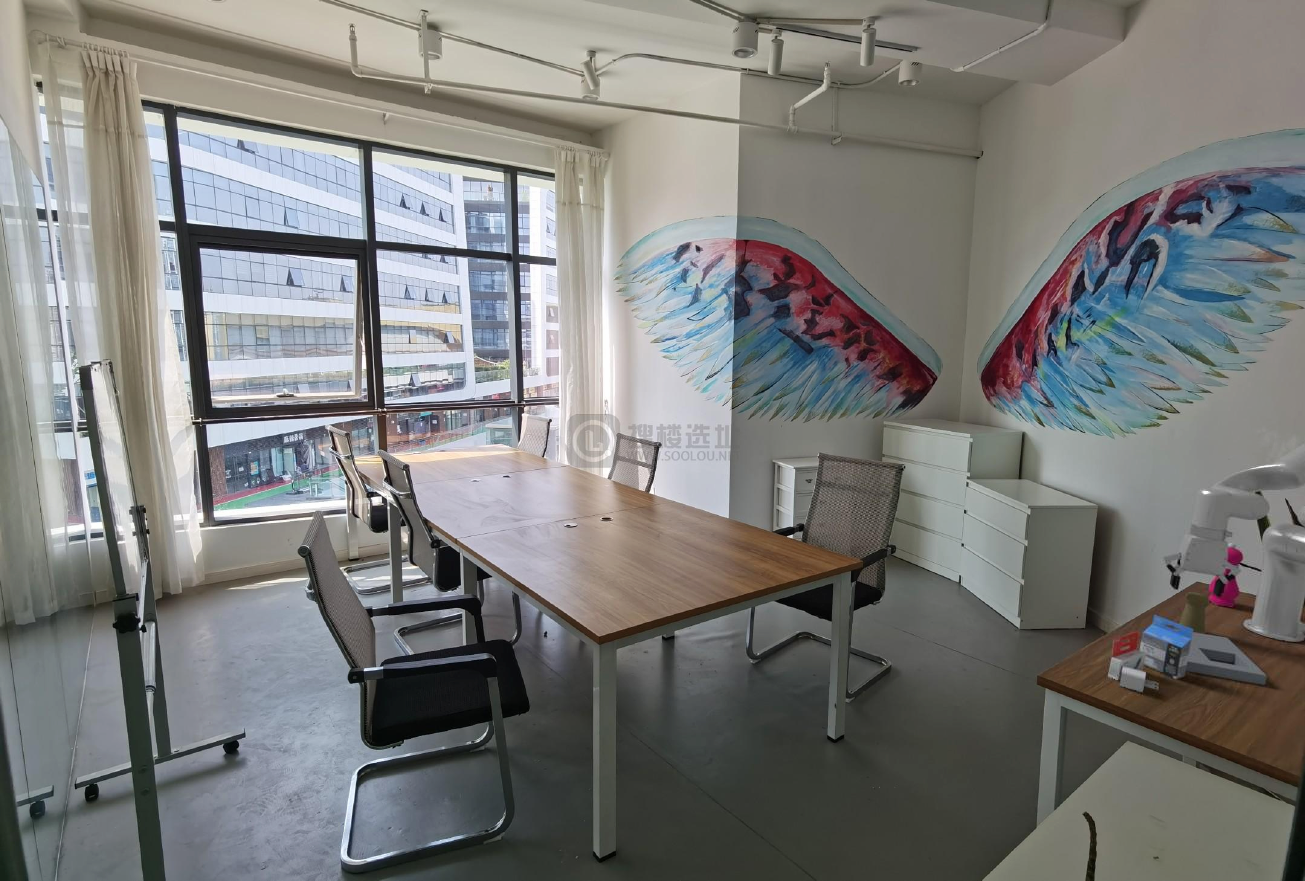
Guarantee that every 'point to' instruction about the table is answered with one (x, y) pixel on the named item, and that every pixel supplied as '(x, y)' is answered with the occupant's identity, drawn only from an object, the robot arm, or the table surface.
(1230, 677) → the socket board
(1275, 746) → the table surface
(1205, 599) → the cork
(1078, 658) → the table surface
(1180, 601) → the table surface
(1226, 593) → the pepper mill
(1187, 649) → the blue and white box
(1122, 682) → the usb wall charger
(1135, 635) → the ink cartridge box
